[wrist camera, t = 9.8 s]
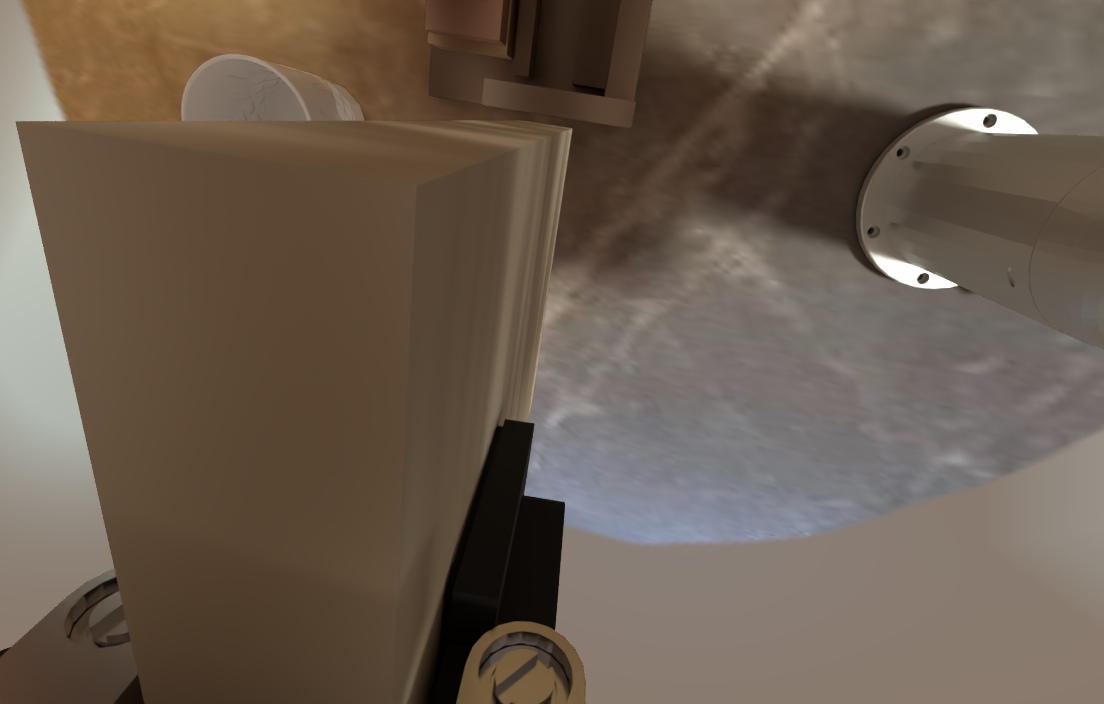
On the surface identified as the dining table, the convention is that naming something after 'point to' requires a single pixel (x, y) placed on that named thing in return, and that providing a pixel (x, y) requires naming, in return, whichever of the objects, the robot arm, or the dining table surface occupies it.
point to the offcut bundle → (473, 26)
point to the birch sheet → (294, 378)
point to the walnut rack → (556, 62)
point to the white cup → (263, 93)
